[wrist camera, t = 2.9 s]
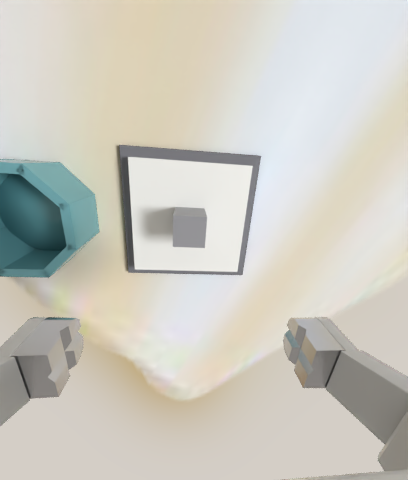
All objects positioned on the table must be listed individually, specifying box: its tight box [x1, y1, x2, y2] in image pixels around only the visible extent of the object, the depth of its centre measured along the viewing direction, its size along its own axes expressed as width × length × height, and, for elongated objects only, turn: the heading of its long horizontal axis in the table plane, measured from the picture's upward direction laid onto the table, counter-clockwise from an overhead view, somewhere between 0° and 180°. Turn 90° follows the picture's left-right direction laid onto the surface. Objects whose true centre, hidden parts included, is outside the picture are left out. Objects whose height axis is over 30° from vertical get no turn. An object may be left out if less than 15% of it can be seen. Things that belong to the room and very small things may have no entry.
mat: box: [119, 145, 261, 275], centre depth 23 cm, size 14×14×1 cm
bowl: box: [0, 159, 99, 278], centre depth 19 cm, size 10×10×5 cm
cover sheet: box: [128, 157, 253, 272], centre depth 21 cm, size 12×12×4 cm
